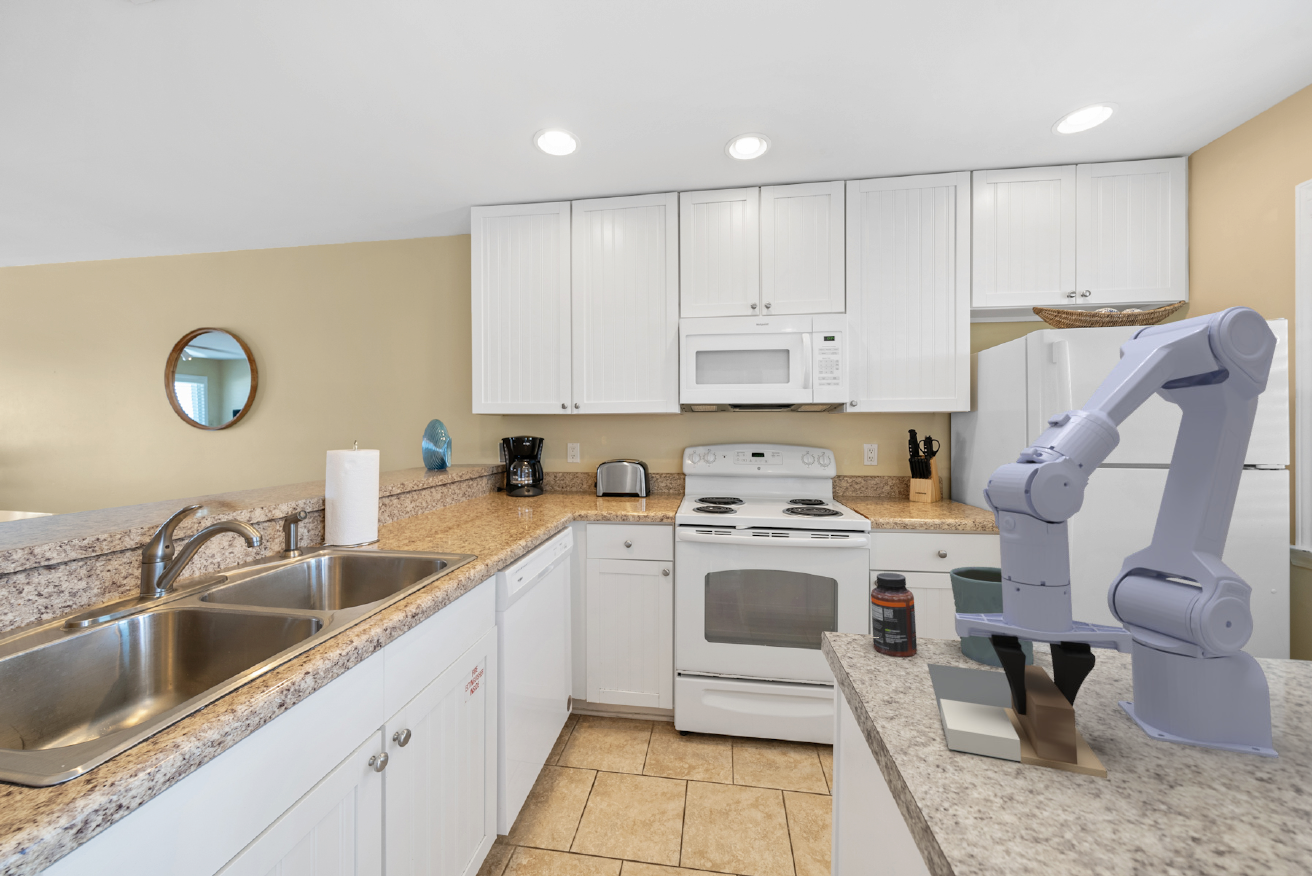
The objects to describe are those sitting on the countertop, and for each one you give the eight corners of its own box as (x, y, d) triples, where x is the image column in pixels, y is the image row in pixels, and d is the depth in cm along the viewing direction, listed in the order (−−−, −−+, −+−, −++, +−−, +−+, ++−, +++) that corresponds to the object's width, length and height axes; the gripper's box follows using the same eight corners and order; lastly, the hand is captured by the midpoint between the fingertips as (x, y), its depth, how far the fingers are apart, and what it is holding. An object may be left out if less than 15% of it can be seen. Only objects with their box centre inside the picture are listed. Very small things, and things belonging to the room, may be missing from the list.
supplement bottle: (907, 644, 79) (904, 570, 79) (924, 659, 73) (920, 580, 73) (867, 643, 80) (864, 570, 80) (880, 659, 74) (877, 580, 74)
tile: (1003, 707, 55) (1019, 739, 49) (1004, 728, 55) (1020, 762, 49) (940, 698, 57) (947, 728, 51) (940, 718, 57) (948, 750, 51)
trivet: (1068, 725, 55) (1067, 716, 55) (1107, 781, 46) (1106, 770, 46) (997, 714, 58) (997, 706, 58) (1020, 765, 49) (1020, 755, 49)
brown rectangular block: (1044, 712, 56) (1041, 666, 56) (1077, 764, 47) (1074, 709, 47) (1011, 707, 57) (1009, 662, 58) (1038, 757, 48) (1035, 704, 48)
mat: (1031, 678, 67) (1031, 675, 67) (1095, 773, 47) (1095, 769, 47) (927, 665, 71) (927, 663, 71) (947, 747, 52) (947, 744, 52)
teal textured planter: (1054, 674, 67) (1050, 583, 68) (971, 671, 69) (967, 582, 69) (1014, 645, 77) (1010, 565, 78) (942, 643, 79) (939, 565, 79)
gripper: (1107, 575, 53) (1114, 706, 53) (948, 566, 59) (954, 685, 59) (1140, 593, 47) (1148, 743, 46) (958, 581, 53) (964, 715, 52)
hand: (1041, 713), depth 52 cm, fingers closed on brown rectangular block, 3 cm apart
